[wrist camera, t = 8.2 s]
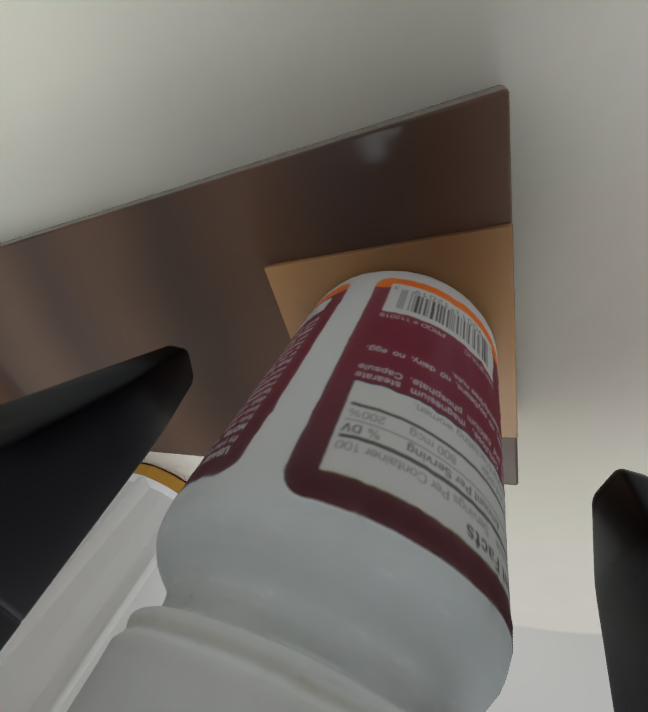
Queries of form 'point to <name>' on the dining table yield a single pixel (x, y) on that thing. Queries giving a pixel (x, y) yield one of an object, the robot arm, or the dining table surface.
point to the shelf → (269, 261)
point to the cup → (89, 599)
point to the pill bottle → (338, 528)
